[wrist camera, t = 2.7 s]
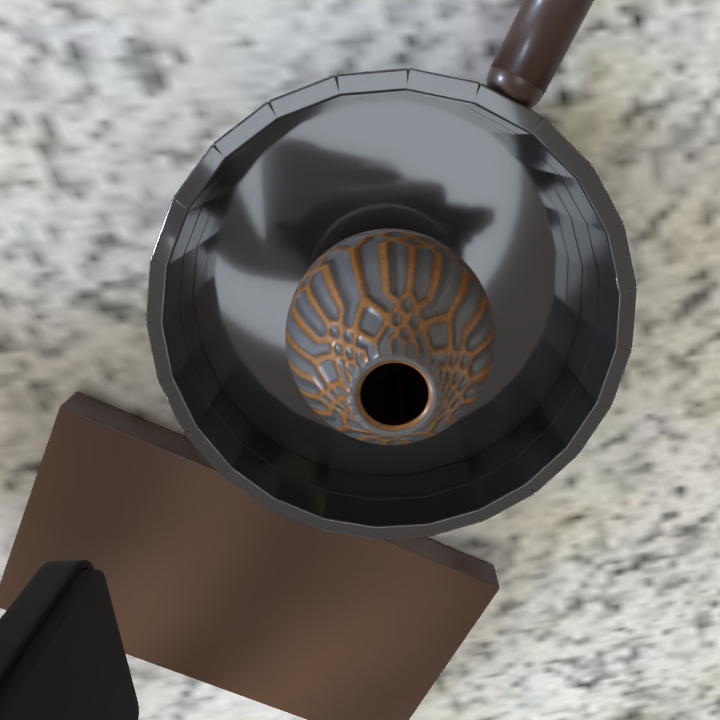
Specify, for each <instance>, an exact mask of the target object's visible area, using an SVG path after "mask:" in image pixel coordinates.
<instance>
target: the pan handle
mask: <svg viewBox="0 0 720 720" xmlns="http://www.w3.org/2000/svg"><path fill="white" fill-rule="evenodd" d="M593 1H594V0H524V2H523V4H522V6H521V8H520V10H519V12H518V14H517V16H516V18H515V20H514V22H513V23H512V25H511V27H510V29H509V31H508V33H507V35H506V37H505V39H504V41H503V43H502V45H501V47H500V49H499V51H498V53H497V55H496V57H495V59H494V61H493V63H492V65H491V67H490V70H489V73H488V76H487V86H488V87H490V88H492V89H493V90H495V91H497V92H499V93H501V94H503V95H505V96H506V97H508V98H510V99H512V100H514V101H516V102H518V103H520V104H521V105H523V106H525V107H527V108H529V109H530V108H532V107H533V106H534V105H536V104H537V103H538V102H539V100H540V99H541V98H542V96H543V95H544V93H545V91H546V89H547V87H548V85H549V83H550V82H551V80H552V78H553V76H554V74H555V72H556V70H557V68H558V67H559V65H560V63H561V61H562V59H563V57H564V55H565V54H566V52H567V50H568V48H569V46H570V44H571V42H572V40H573V39H574V37H575V35H576V33H577V31H578V29H579V27H580V26H581V24H582V22H583V20H584V18H585V16H586V14H587V12H588V11H589V9H590V7H591V5H592V3H593Z"/></svg>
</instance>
